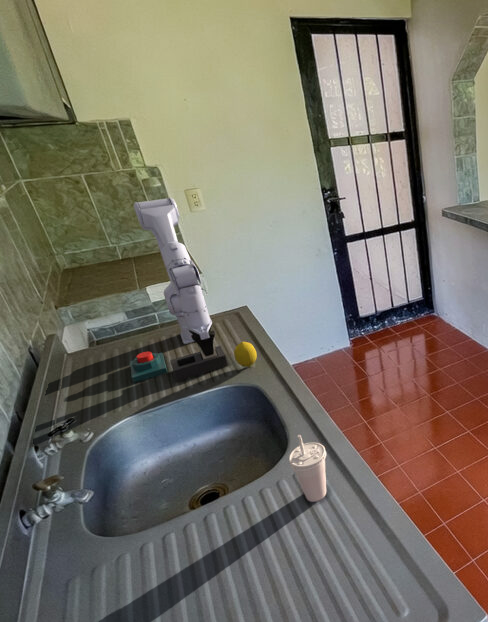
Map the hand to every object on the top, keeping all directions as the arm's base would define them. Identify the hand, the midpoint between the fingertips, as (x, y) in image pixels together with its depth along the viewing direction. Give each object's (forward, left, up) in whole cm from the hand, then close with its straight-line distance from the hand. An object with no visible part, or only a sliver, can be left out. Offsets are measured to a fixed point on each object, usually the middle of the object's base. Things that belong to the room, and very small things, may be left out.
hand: (208, 352), depth 128 cm
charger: (0, 0, -2) cm, 2 cm away
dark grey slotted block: (0, -3, -4) cm, 5 cm away
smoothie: (+65, +7, -4) cm, 66 cm away
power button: (-9, -15, -1) cm, 17 cm away
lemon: (+8, +8, -4) cm, 12 cm away
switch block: (-9, -15, -4) cm, 18 cm away
